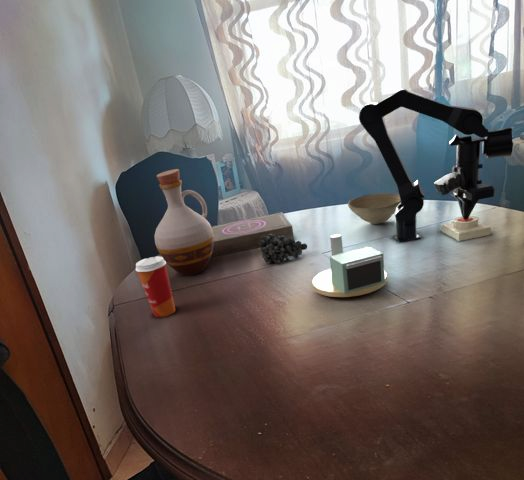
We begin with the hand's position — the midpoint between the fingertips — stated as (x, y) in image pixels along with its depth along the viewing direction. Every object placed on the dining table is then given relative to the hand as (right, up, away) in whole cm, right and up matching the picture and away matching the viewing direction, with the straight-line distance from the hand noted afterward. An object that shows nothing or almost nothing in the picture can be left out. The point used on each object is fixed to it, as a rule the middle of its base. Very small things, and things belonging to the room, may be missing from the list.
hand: (465, 219), depth 131 cm
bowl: (-19, +6, +27) cm, 33 cm away
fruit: (-51, -10, +9) cm, 53 cm away
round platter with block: (-36, -21, -18) cm, 46 cm away
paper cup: (-83, -28, -12) cm, 88 cm away
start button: (0, -1, +1) cm, 2 cm away
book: (-63, +2, +35) cm, 72 cm away
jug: (-79, -12, +16) cm, 82 cm away
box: (+1, -4, +2) cm, 4 cm away
